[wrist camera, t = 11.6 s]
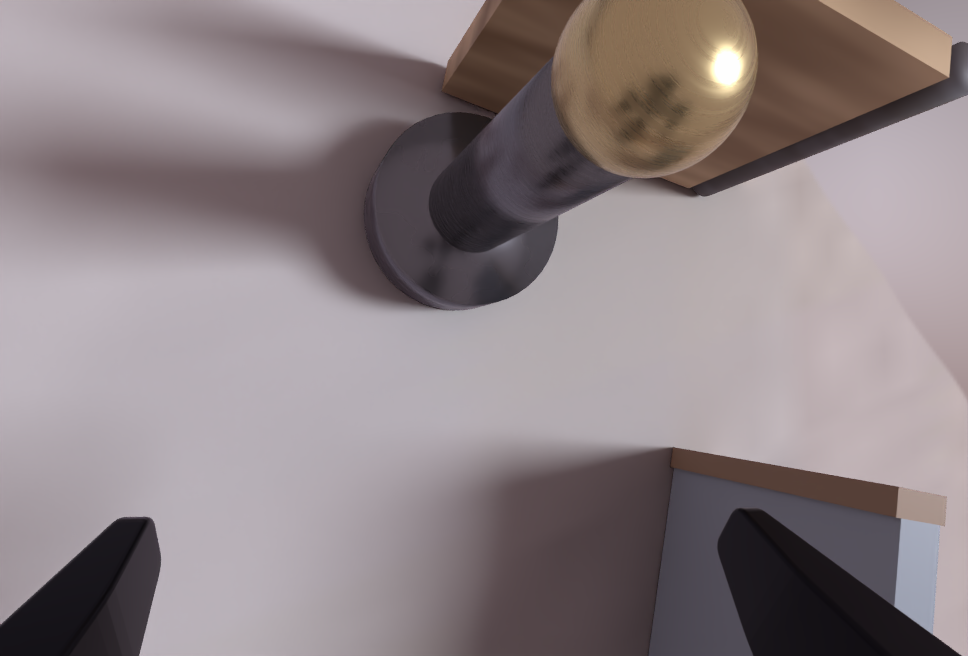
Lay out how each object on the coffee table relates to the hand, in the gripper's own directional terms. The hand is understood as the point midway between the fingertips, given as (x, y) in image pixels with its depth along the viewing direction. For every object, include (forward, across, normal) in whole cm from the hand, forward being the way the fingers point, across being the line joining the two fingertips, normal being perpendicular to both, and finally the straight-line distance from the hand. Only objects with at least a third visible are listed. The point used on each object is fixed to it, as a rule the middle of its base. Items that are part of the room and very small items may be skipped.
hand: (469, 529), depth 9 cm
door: (+17, -7, -3) cm, 18 cm away
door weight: (+14, -1, 0) cm, 14 cm away
